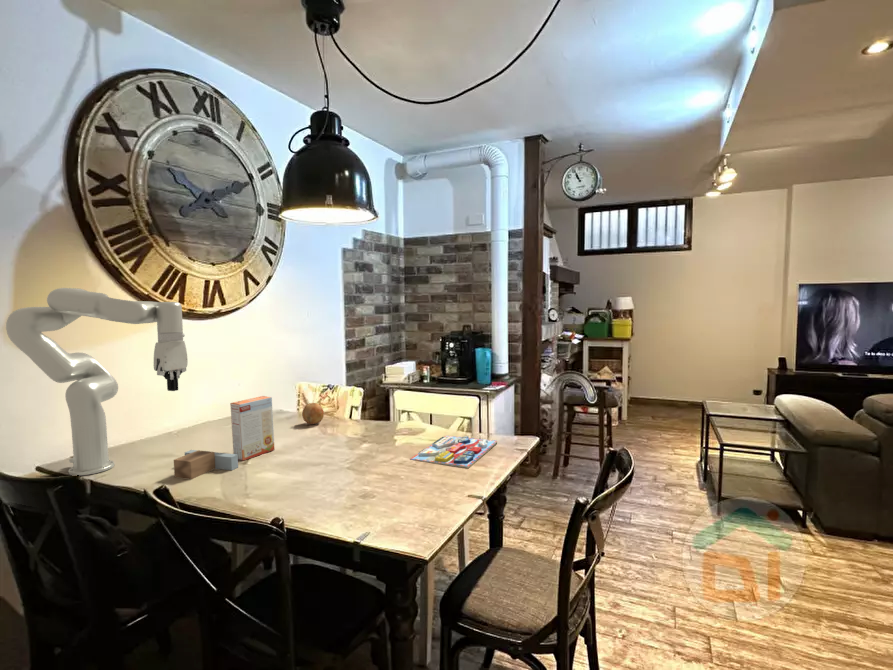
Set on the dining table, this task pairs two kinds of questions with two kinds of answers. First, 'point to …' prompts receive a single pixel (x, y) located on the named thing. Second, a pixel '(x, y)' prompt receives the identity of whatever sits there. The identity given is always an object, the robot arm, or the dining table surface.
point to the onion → (313, 413)
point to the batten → (223, 460)
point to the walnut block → (194, 464)
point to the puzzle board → (455, 451)
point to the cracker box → (252, 427)
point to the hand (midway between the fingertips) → (172, 390)
